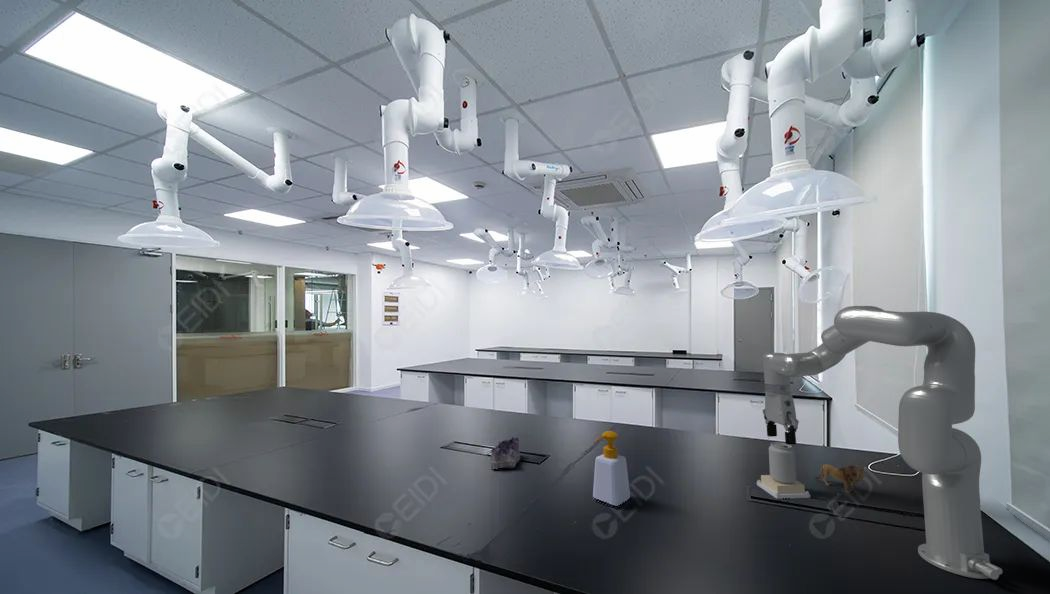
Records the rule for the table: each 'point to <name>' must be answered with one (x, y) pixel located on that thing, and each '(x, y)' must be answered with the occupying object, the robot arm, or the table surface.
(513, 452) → the geode
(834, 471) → the lion figurine
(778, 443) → the can
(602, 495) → the soap bottle
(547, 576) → the table surface
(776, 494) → the tower base
